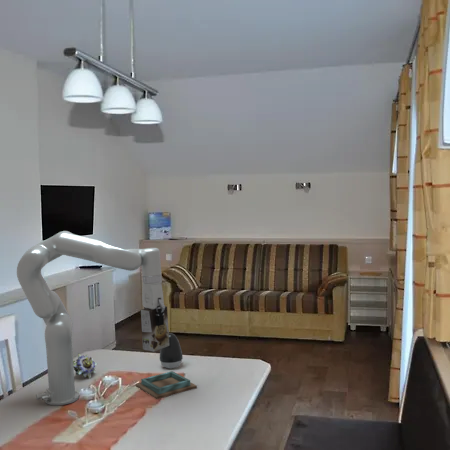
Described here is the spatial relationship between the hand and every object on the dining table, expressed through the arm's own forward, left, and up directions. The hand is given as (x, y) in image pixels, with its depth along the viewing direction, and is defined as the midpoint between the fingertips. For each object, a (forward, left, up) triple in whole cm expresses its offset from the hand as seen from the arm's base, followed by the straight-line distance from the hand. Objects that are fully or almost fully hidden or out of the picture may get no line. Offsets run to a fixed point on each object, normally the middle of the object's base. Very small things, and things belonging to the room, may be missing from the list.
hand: (154, 323), depth 216 cm
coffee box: (0, 0, -10) cm, 10 cm away
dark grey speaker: (+17, +19, -27) cm, 37 cm away
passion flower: (-18, +34, -27) cm, 47 cm away
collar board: (+3, -1, -26) cm, 27 cm away
